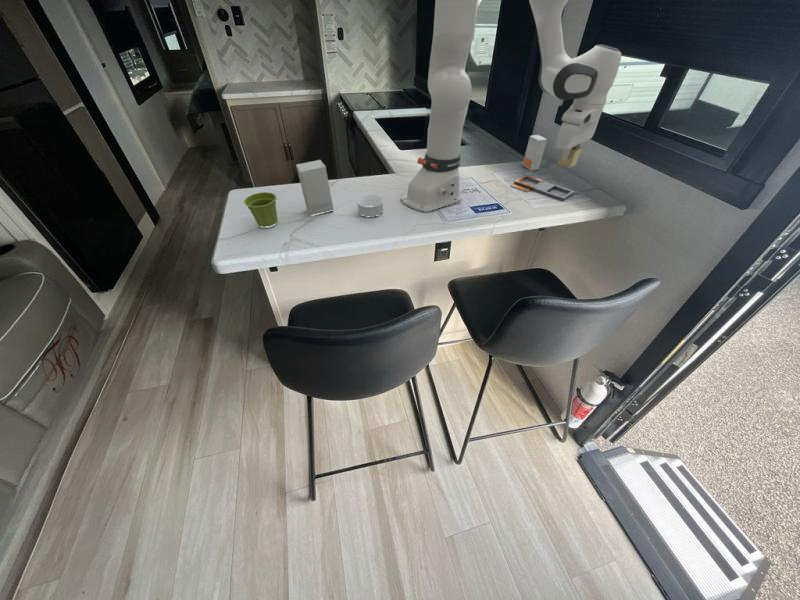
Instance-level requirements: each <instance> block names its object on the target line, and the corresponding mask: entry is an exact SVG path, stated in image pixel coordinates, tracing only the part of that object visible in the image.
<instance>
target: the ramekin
mask: <svg viewBox="0 0 800 600" xmlns="http://www.w3.org/2000/svg"><path fill="white" fill-rule="evenodd" d="M356 204H357V207H358V212H360V213H361V214H362V215H364V216H370V217H372V216H376V215H379V214H381V213H382V214H383V212H382V211H384V198H383V197H381V196H379V195H377V194H376V195H375V194H367V195H362V196H361V197H359V198H358V199H357V200H356ZM370 205H372V206H373V207H365V206H370ZM360 213H359V214H360ZM382 214H381V215H382ZM362 215H361V216H362ZM379 216H380V215H379Z"/></svg>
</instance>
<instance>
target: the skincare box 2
mask: <svg viewBox="0 0 800 600" xmlns="http://www.w3.org/2000/svg"><path fill="white" fill-rule="evenodd" d="M547 141H548V139H547V138H545V137H544V136H541V135H540V134H534V135H529V139H528V143H527V147H526V150H525V154H524V158H523V162H522V166H524V167H525V168H526V169H527V170H529V171H535V170H539V169H540V166H541V163H542V159H543V156H544V151H545V150H546V149H545V148H546V144H547Z"/></svg>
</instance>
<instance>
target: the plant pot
mask: <svg viewBox="0 0 800 600" xmlns="http://www.w3.org/2000/svg"><path fill="white" fill-rule="evenodd" d="M243 203H244V205H245V206H246V207H247V208H248V210H249V211H250V212H251V214H252V217H253V218H254V220H255V222H256V224H257V225H259V226H263V227H265V226H271V225H273V224H275V223H277V221H278V220H279V219H278V213H277V205H276V204H277V196H276V194H274V193H272V192H268V191H267V192H265V191H263V192H256V193H253V194H251V195H249V196H247V197H245V199H244V201H243ZM278 222H279V221H278ZM277 224H278V223H277ZM259 226H258V227H259Z"/></svg>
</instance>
